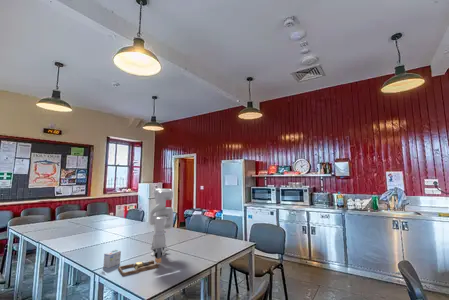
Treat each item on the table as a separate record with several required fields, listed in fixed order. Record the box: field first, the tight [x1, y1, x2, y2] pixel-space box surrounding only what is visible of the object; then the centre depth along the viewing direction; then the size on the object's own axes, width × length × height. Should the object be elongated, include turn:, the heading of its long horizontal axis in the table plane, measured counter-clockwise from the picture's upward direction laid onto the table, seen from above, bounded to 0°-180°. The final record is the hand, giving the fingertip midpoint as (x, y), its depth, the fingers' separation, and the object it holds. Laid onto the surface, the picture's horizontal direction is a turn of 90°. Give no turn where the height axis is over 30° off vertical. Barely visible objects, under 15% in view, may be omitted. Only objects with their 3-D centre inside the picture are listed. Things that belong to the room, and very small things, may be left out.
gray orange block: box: [154, 248, 162, 264], centre depth 180 cm, size 3×5×11 cm, turn 37°
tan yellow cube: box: [134, 261, 143, 270], centre depth 171 cm, size 4×4×4 cm
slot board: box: [117, 259, 159, 277], centre depth 171 cm, size 26×14×3 cm, turn 127°
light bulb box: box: [102, 249, 122, 269], centre depth 177 cm, size 11×7×11 cm, turn 157°
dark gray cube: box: [141, 260, 150, 266], centre depth 174 cm, size 4×4×4 cm
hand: (158, 256), depth 180 cm, fingers closed on gray orange block, 2 cm apart
